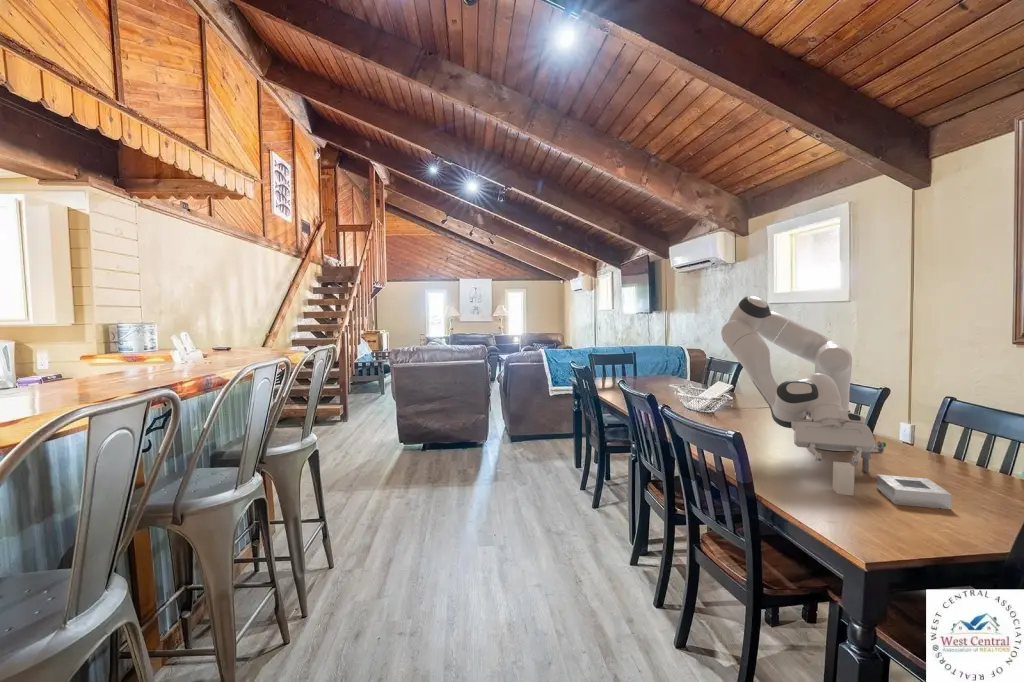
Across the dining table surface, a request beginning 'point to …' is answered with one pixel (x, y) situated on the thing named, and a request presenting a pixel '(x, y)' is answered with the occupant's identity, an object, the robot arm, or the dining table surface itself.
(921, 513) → the dining table surface
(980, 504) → the dining table surface
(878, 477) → the grey square socket base
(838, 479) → the plug
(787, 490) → the dining table surface
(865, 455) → the mechanical component
